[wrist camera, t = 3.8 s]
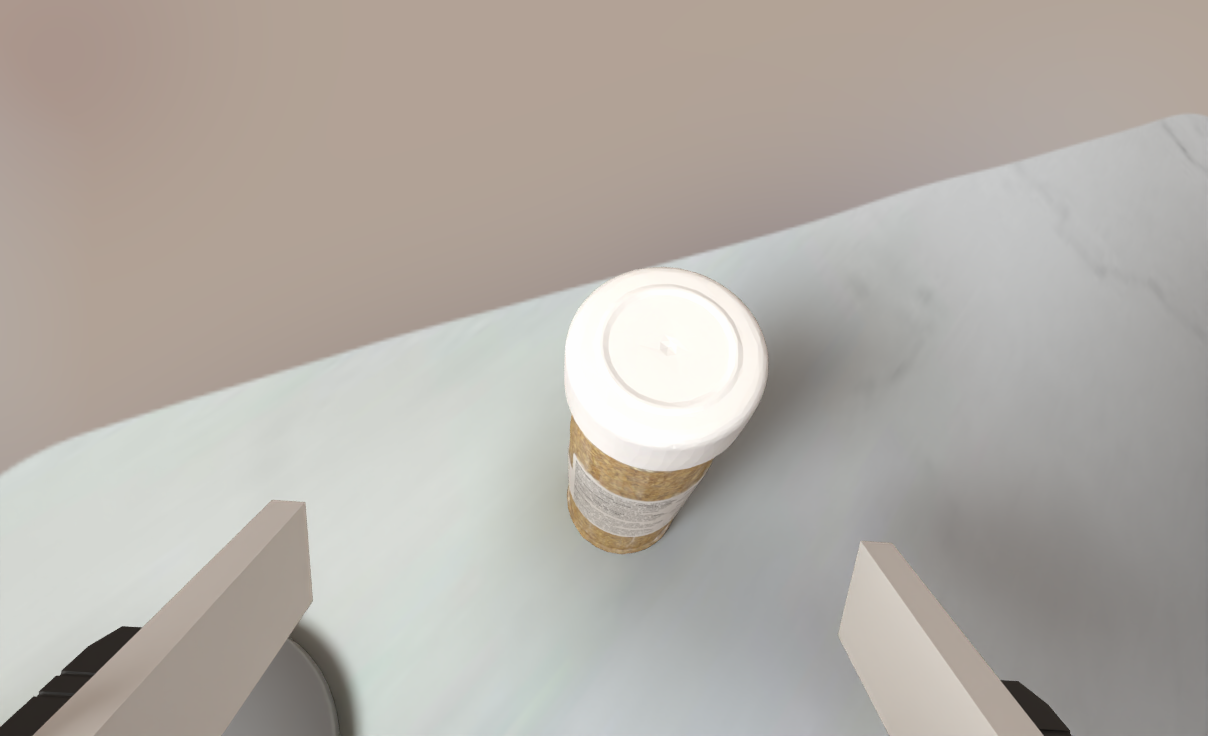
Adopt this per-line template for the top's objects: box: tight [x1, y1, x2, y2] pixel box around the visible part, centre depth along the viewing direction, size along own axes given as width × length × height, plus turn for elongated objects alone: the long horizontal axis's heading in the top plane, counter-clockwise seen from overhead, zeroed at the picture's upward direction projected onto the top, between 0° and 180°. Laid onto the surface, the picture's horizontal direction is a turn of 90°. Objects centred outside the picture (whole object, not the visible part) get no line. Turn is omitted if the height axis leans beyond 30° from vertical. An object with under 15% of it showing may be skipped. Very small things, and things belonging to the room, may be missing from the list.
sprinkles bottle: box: [564, 267, 769, 554], centre depth 19 cm, size 5×5×13 cm
